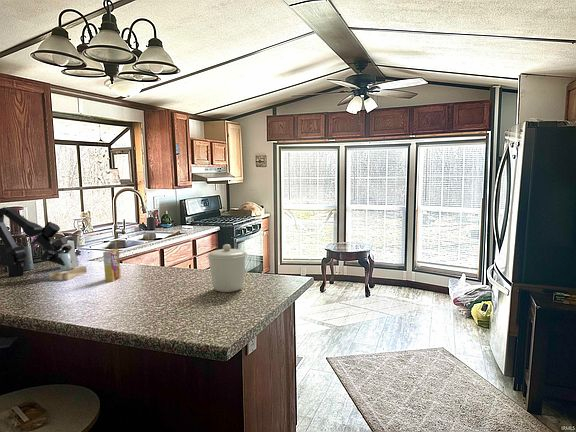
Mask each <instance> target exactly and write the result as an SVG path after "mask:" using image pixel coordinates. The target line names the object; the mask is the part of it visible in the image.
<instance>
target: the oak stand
mask: <svg viewBox="0 0 576 432" xmlns="http://www.w3.org/2000/svg"><path fill="white" fill-rule="evenodd" d="M87 273H88V271H87V266H83V265H80V266H77V265H76V266H71V270H70V271H61V270H58V271H57V270H55V271H52V272H49V280H50V281H70V280H71V279H74V278H77V277H80V276H82V275H85V274H87Z"/></svg>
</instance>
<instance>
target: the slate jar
mask: <svg viewBox="0 0 576 432" xmlns="http://www.w3.org/2000/svg"><path fill="white" fill-rule="evenodd" d="M59 256H60V258H61V259H62V261H63V262H64V263H65V266H63V265H60V267H59V268H60V269H59V270H60V271H70V270H71V259H70V253H63V254H59Z"/></svg>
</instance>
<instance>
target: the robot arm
mask: <svg viewBox="0 0 576 432" xmlns="http://www.w3.org/2000/svg"><path fill="white" fill-rule="evenodd" d="M5 217H6V218H8V219H9V220H11V221H12V222H13V223H14V224H16V225H17V226H19V227H20V228H21V229H22V232H23V233H24V234H25V235H26V236H28V237H29V238H33V237H35V238H33V239H32V244H33V245H34V244H39V245H40V247H42V251H43V254H42V255H40V257H39V259H40V261H41V262H43V263H44V262H50V263H54V264H57V265H59V264H60V265H63V266H65V263H64V262H63V261H62V259H61V258H60V257H59V254H63V253H68V252H69V251H70V250H71V249H72V247H71V246H70V245H67V246H64V247H63V248H62V245H64V244H67V242H68V240H69V239H68V238H66V237H65V236H62V237H60V238H59V239H57V240H53V239H52V238H54V237H55V236H56V235H57V234H58V233H59V231H60V230H61V227H60V226H59V225H58V224H56V223H54V222H52V221H47V223H46V225H45V226H44V227H43V226H41V225H39V224H38V223H35V222H32V221H29V220H28V219H27V218H26V217H24V216H22V215H21V214H20V213H18V211H16V210H15V209H14V208H13V207H11V206H7V207H6V206H4V207H2V208H1V207H0V239H1V241H2V243H3V245H4V247H5V250H6V251H5V254H6V258H5V259H4V260H3V262H2V264H3V265H4V267H7V277H8V278H12V277H20V276H24V266H23V265H22V264H24V263H25V260H26V258H27V251H26V250H25V247H24V246H23V245H17V243H16V240H14V238H13V235H12V234H11V233H10V230H9V229H8V227H7V225H6V223H5V222H4V221H5ZM60 248H62V249H61V250H60ZM71 263H72V261H71Z"/></svg>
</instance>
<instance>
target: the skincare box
mask: <svg viewBox="0 0 576 432" xmlns="http://www.w3.org/2000/svg"><path fill="white" fill-rule="evenodd" d="M67 245H70V246H71V247H72V249H71V250H70V251H69V252H68V253H70V259H71V261H72V263H71V266H77V259H76V250H75V249H76V248H75V240H69V239H68V242H67V244H64V245H62V248H63V247H64V246H67ZM62 248H60V250H61V249H62ZM59 257H60V256H59ZM58 268H60V264H58Z"/></svg>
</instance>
